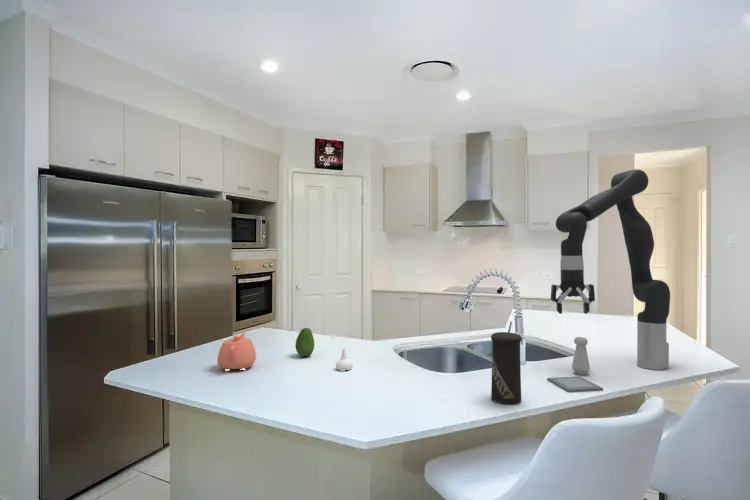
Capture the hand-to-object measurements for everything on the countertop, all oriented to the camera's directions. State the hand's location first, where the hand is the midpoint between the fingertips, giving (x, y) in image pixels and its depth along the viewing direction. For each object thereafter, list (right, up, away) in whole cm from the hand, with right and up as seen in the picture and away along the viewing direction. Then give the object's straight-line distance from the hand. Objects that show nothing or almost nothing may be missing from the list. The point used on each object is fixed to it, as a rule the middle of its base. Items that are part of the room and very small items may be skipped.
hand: (572, 313), depth 149 cm
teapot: (-123, -22, +8) cm, 126 cm away
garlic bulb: (-83, -22, +6) cm, 86 cm away
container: (-32, -22, -25) cm, 46 cm away
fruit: (-100, -22, +24) cm, 105 cm away
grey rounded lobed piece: (+3, -22, 0) cm, 22 cm away
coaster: (-5, -22, -12) cm, 26 cm away
